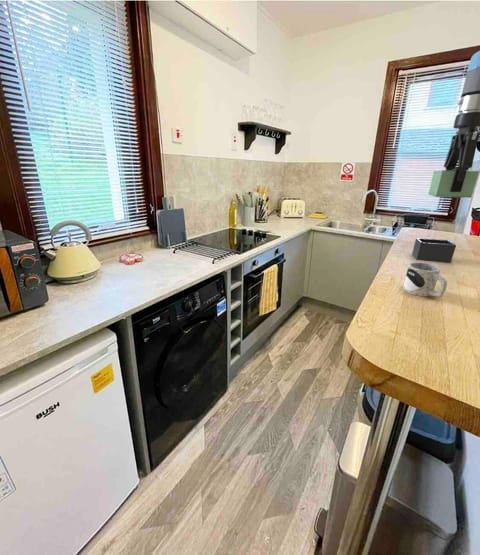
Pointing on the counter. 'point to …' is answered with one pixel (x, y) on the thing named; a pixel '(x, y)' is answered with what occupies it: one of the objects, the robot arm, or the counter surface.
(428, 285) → the mug
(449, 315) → the counter surface
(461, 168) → the robot arm
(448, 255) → the charcoal basket
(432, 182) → the green basket
